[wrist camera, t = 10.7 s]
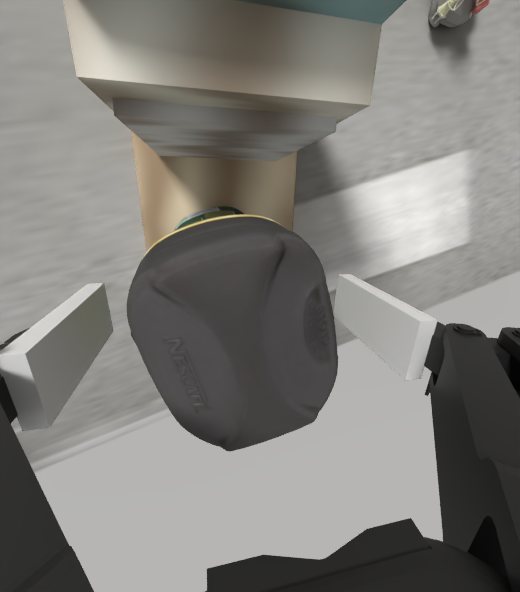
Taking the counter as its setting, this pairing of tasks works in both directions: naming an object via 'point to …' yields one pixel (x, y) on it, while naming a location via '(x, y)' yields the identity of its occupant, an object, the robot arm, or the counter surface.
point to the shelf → (225, 92)
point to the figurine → (454, 11)
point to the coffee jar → (235, 327)
